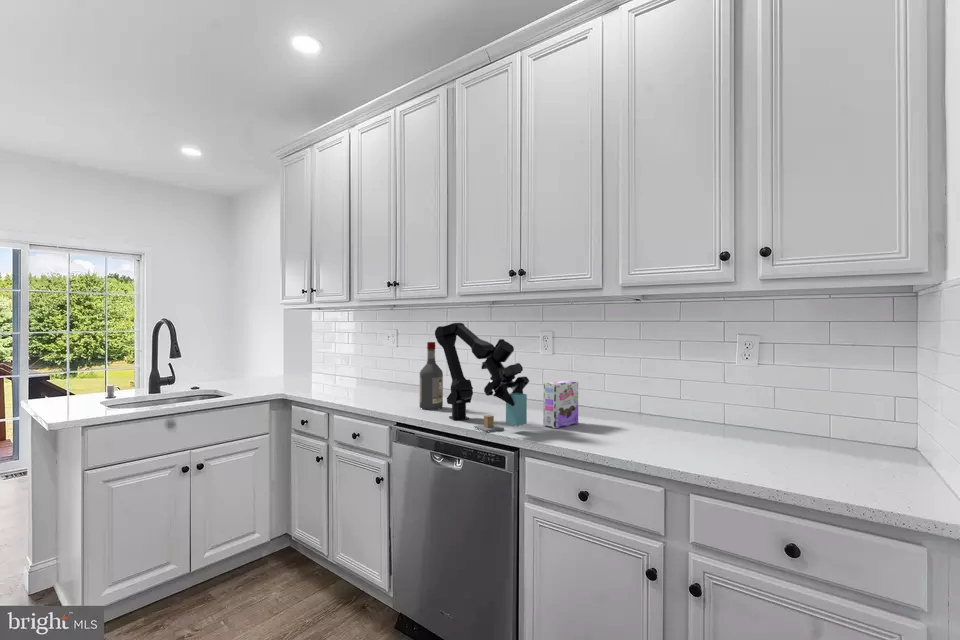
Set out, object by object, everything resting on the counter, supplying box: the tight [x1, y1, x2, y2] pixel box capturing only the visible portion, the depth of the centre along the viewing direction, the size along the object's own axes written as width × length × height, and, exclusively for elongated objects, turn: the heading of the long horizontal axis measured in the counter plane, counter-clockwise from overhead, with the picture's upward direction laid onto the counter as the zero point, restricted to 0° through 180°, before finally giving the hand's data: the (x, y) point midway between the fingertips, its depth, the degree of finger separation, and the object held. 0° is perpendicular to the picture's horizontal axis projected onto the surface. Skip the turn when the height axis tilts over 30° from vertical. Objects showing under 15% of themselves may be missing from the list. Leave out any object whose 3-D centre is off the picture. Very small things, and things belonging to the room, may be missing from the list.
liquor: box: [419, 341, 444, 411], centre depth 214 cm, size 9×9×30 cm
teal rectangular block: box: [505, 392, 528, 427], centre depth 167 cm, size 5×5×10 cm
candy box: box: [542, 380, 579, 429], centre depth 178 cm, size 14×6×16 cm, turn 129°
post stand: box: [473, 414, 505, 433], centre depth 171 cm, size 8×8×5 cm
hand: (519, 404), depth 166 cm, fingers closed on teal rectangular block, 5 cm apart
